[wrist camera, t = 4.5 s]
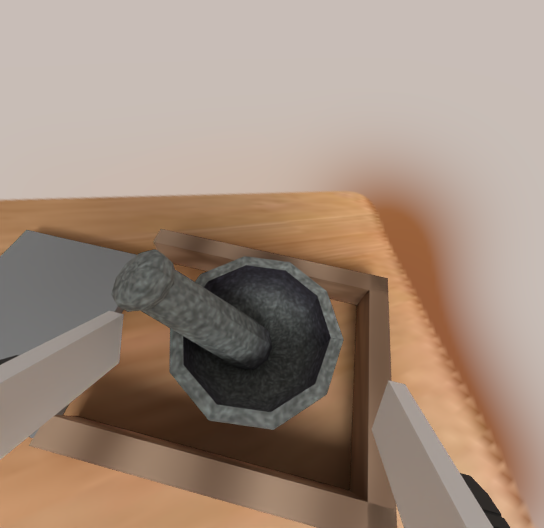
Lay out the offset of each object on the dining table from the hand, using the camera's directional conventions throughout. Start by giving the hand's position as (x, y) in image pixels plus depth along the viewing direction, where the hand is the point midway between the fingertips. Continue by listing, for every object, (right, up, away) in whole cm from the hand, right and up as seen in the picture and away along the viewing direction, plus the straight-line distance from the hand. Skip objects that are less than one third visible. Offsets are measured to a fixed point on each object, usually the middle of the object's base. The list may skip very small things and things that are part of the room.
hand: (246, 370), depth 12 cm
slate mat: (-18, +1, +8) cm, 19 cm away
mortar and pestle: (-1, -2, +8) cm, 8 cm away
